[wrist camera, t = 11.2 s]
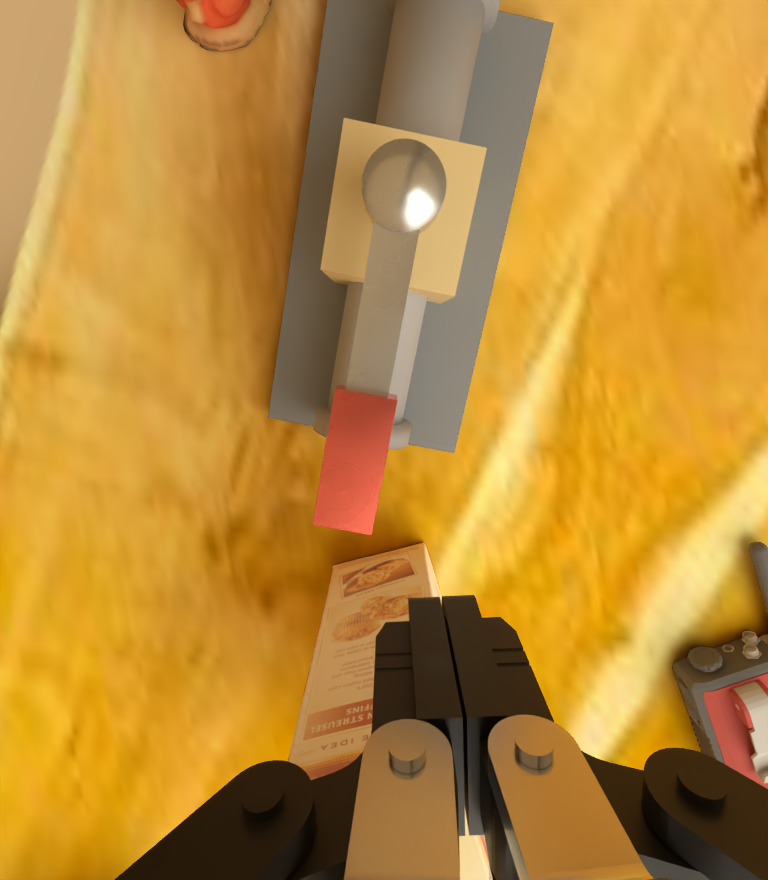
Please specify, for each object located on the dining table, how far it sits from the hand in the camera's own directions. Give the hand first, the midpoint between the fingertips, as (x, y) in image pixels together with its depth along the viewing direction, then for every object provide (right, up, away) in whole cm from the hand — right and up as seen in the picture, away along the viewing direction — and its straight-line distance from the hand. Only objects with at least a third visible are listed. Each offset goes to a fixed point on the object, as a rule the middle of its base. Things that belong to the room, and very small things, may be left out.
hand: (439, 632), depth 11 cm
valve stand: (0, +16, +19) cm, 25 cm away
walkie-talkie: (+25, -12, +26) cm, 38 cm away
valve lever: (-2, +8, +10) cm, 13 cm away
